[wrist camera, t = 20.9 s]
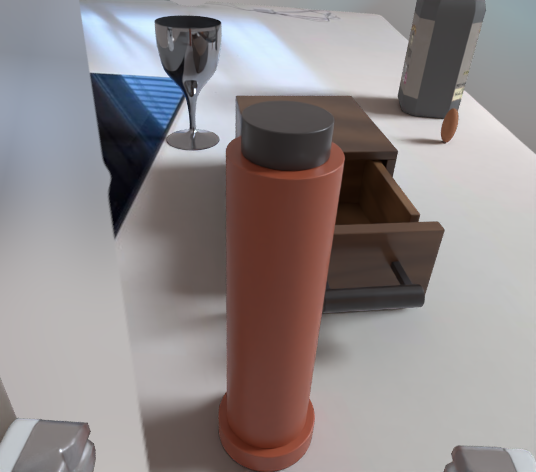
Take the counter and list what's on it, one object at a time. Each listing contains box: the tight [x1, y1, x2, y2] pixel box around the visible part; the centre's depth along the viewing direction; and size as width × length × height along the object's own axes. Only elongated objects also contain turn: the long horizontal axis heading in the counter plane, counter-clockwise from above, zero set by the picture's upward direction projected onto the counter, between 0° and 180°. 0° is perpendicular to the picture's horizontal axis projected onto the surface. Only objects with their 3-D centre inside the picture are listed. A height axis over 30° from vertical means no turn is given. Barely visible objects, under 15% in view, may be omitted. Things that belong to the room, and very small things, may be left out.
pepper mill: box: [218, 101, 345, 472], centre depth 24 cm, size 6×6×20 cm
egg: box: [441, 108, 458, 142], centre depth 68 cm, size 2×2×5 cm
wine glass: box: [155, 16, 222, 150], centre depth 62 cm, size 8×8×15 cm
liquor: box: [398, 0, 486, 118], centre depth 73 cm, size 9×9×30 cm
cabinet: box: [235, 96, 398, 177], centre depth 52 cm, size 16×14×9 cm
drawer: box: [322, 160, 445, 313], centre depth 40 cm, size 19×12×7 cm, turn 8°
